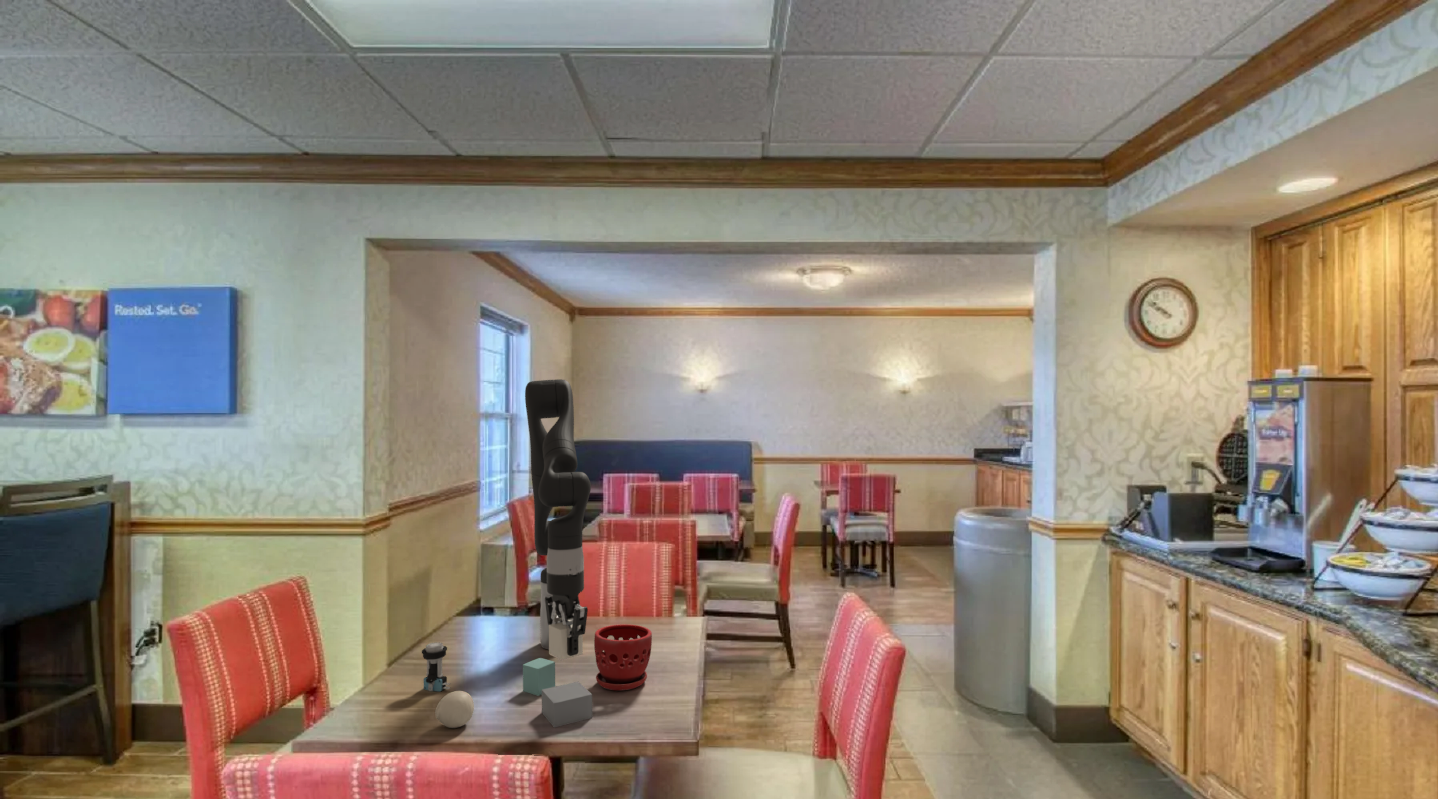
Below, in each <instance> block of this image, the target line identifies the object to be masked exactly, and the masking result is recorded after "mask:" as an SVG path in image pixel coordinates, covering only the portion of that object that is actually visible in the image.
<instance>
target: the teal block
mask: <svg viewBox="0 0 1438 799" xmlns="http://www.w3.org/2000/svg"><path fill="white" fill-rule="evenodd" d="M551 687H556V661H553V660H549V659H546V658H542V657H538V658H536V659H533V660H531V661H528V662H526V663H524V664H522V692H525V693H528V694H531V695H534V696H538V697H540V696H542V690H543V689H547V688H551Z"/></svg>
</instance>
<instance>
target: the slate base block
mask: <svg viewBox="0 0 1438 799" xmlns="http://www.w3.org/2000/svg"><path fill="white" fill-rule="evenodd" d="M541 714H542V715H543V716H544V717H545V718H546V720H547V721H548V722H549V723H550V725H552V727H553V728H558V727H562V726H565V725H569V724H573V723H574V724H575V723H577V722H581V721H585V720H589V719H592V718H593V694H592V693H591V692H590V691H589V690H588V689H587V688H586V687H585V686H584V685H583V684H582V683H581V682H579V681H573V682H570V683H566V684H565V683H564V684H560V685H555V687H551V688H547V689H543V690H542V695H541Z"/></svg>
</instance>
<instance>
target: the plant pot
mask: <svg viewBox="0 0 1438 799" xmlns="http://www.w3.org/2000/svg"><path fill="white" fill-rule="evenodd" d="M610 636H612V637H613V639H611V638H609V637H610ZM638 636H639V638H638ZM593 639H594V640H593V642H594V643H593V645H594V646H593V647H594V654H595V664H596V667H597V669H598V672H597V674H596V675H595V679H596V682H597V684H598V685H599V686H600V687H602V688H603V689H605V690H611V691H629V690H633V689H635V688H638V687H640V686H642V685H643V684H644V683H645V681H646V680H647V678H648V673H647V672H646V670H647V668H648V665H649V662H650V659H651V653H652V646H653V645H652V644H653V642H652V641H653V632H652V631H651V630H650V629H649V628H648V627H645V626H643V625H639V624H638V625H637V624H628V623H625V624H622V623H621V624H610V625H606V626H603V627H599V629H597V630H596V631H595V633H594V638H593Z"/></svg>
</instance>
